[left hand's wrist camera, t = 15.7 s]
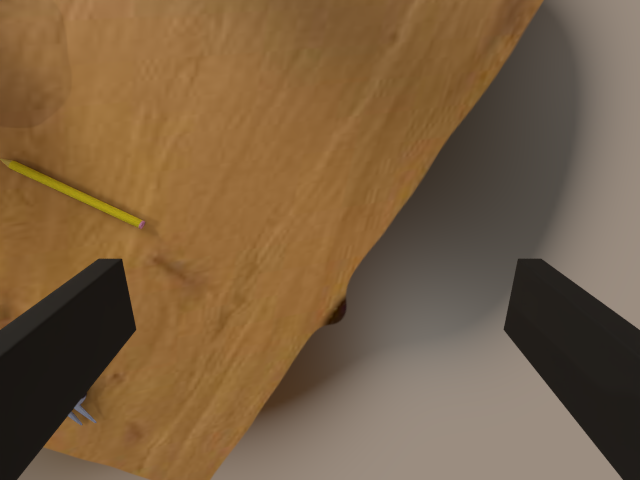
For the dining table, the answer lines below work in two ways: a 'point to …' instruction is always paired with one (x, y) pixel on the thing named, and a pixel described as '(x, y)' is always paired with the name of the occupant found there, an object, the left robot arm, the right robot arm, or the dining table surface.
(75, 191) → the pencil
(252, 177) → the dining table surface
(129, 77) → the dining table surface
